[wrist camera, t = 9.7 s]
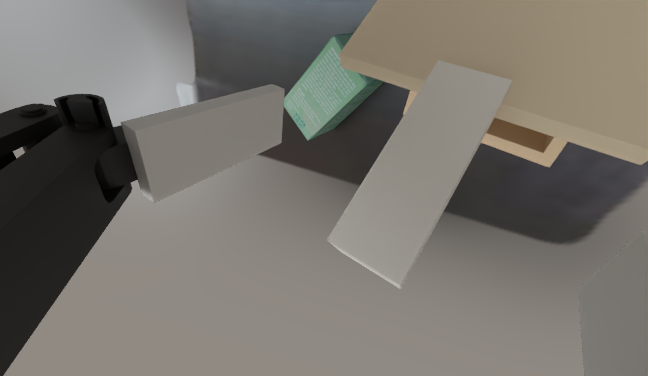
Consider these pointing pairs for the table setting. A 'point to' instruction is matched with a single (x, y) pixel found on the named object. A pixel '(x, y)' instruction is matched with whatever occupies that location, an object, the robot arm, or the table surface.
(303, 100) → the box
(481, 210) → the table surface
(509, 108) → the lid
